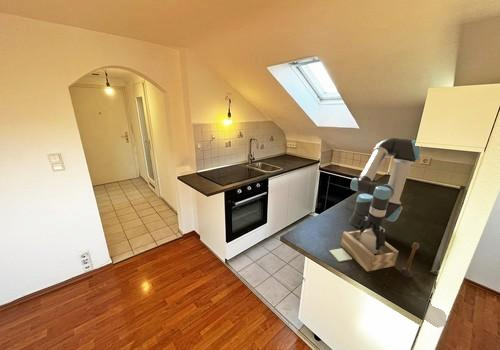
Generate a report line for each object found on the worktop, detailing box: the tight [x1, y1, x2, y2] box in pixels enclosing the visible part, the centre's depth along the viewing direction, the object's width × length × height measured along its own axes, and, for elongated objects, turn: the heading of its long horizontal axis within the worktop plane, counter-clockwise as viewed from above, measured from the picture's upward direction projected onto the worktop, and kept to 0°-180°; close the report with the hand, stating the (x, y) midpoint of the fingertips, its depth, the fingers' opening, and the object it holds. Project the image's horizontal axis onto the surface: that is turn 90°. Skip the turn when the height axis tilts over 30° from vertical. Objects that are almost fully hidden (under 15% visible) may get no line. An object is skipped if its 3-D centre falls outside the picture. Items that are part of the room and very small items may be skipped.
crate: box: [340, 229, 400, 272], centre depth 120 cm, size 18×22×10 cm
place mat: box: [328, 247, 353, 263], centre depth 121 cm, size 9×9×1 cm
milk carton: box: [360, 227, 377, 253], centre depth 119 cm, size 7×7×19 cm
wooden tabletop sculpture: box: [399, 242, 420, 279], centre depth 106 cm, size 6×5×20 cm
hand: (367, 247), depth 121 cm, fingers closed on milk carton, 10 cm apart
